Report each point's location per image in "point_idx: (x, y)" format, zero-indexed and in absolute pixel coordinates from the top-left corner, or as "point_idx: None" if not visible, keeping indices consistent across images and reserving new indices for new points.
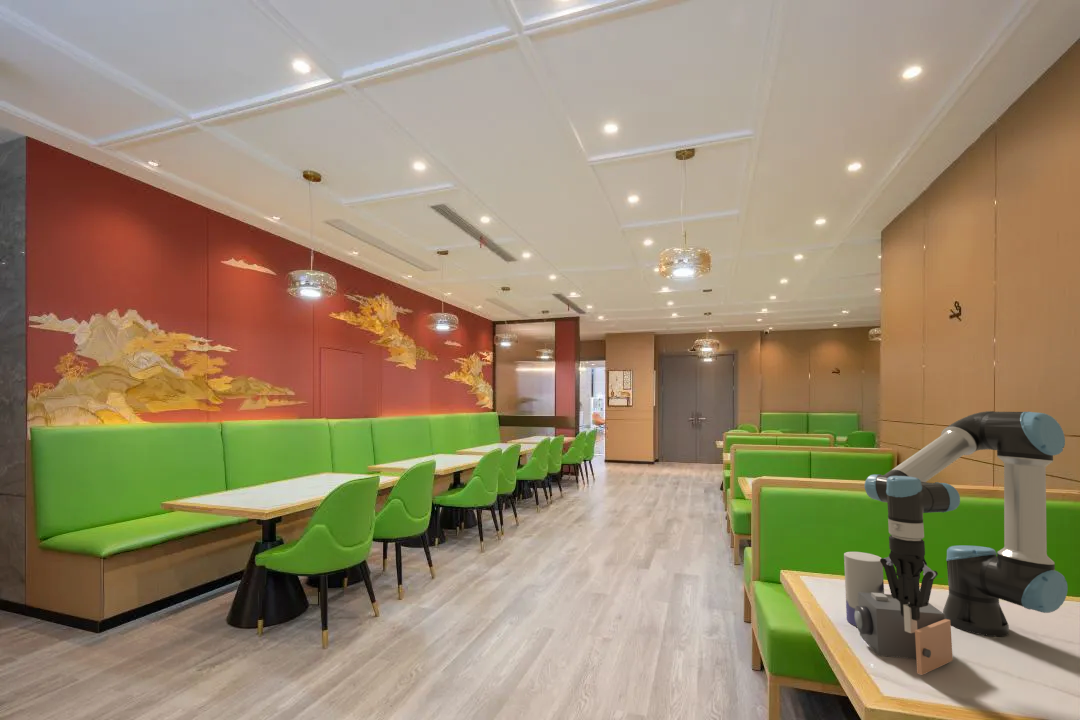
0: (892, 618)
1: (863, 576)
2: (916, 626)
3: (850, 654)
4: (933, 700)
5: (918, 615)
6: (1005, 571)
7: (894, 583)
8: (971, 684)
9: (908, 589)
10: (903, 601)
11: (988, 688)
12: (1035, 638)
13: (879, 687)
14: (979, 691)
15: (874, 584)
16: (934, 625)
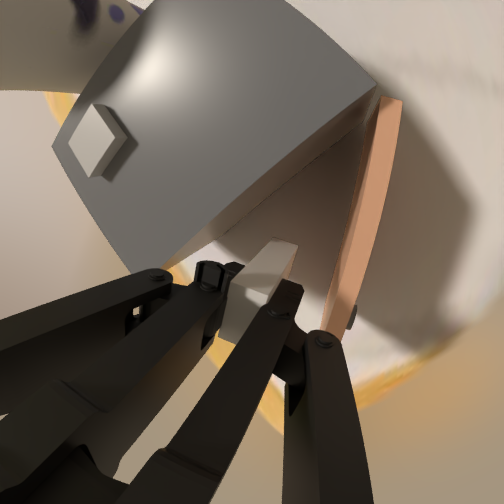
0: (197, 239)
1: (17, 74)
2: (292, 258)
3: (182, 282)
4: (367, 372)
5: (297, 309)
6: None
7: (99, 356)
8: (433, 229)
9: (183, 343)
10: (210, 345)
11: (463, 221)
12: None
13: (278, 386)
14: (448, 257)
15: (59, 45)
16: (364, 256)
